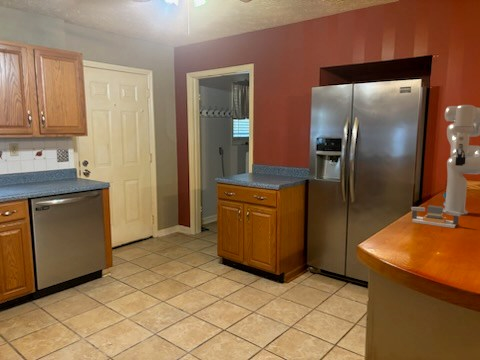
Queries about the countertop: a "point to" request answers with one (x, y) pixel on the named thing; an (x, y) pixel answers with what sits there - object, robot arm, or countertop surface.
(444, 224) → the stand
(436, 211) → the block
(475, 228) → the countertop surface
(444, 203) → the gear
